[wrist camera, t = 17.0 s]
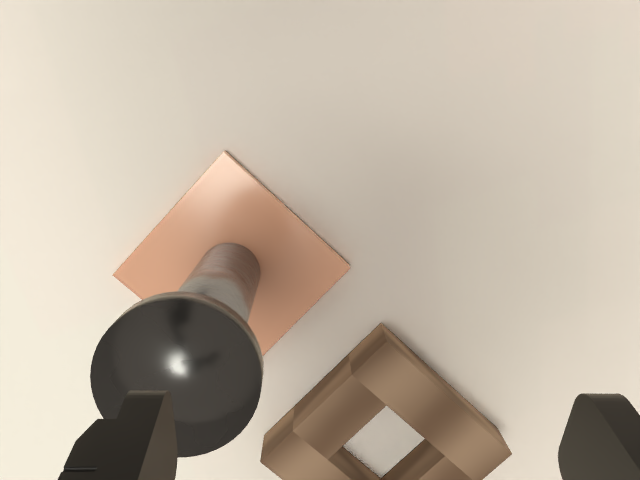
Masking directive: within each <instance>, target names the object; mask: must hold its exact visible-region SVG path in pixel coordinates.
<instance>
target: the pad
mask: <svg viewBox="0 0 640 480" xmlns="http://www.w3.org/2000/svg"><path fill="white" fill-rule="evenodd" d="M222 243H236V244H240V245H242V246H244V247H246V248H247V249H249V250H250V251H251V252H252V253H253V254H254V255H255V257H256V258H257V260H258V263H259V266H260V280H259V284H258V287H257V291H256V295H255V298H254V302H253V306H252V309H251V313H250V316H249V320H248V325H249V326H250V328H251V329H252V331H253V332H254V334H255V336H256V338H257V340H258V343H259V345H260V349H261V352H262V356H263V355H264V354H265V353H266V352H267V351H268V350H269V349H270V348H271V347H272V346H273V345H274V344H275V343H276V342H277V341H278V340H279V339H280V338H281V337H282V336H283V335H284V334H285V333H286V332H287V331H288V330H289V329H290V328H291V327H292V326H293V325H294V324H295V323H296V322H297V321H298V320H299V319H300V318H301V317H302V316H303V315H304V314H305V313H306V312H307V311H308V310H309V309H310V308H311V307H312V306H313V305H314V304H315V303H316V302H317V301H318V300H319V299H320V298H321V297H322V296H323V295H324V294H325V293H326V292H327V291H328V290H329V289H330V288H331V287H332V286H333V285H334V284H335V283H336V282H337V281H338V280H339V279H340V278H341V277H342V276H343V275H344V274H345V273H346V272H347V271H348V270H349V269H350V265H349V264H348V263H347V262H346V261H345V260H344V259H343V258H342V257H341V256H340V255H338V254H337V253H336V252H335V251H334V250H333V249H332V248H331V247H330V246H329V245H328V244H326V243H325V242H324V241H323V240H322V239H321V238H320V237H319V236H318V235H317V234H316V233H314V232H313V231H312V230H311V229H310V228H309V227H308V226H307V225H306V224H305V223H304V222H303V221H301V220H300V219H299V218H298V217H297V216H296V215H295V214H294V213H293V212H292V211H291V210H289V209H288V208H287V207H286V206H285V205H284V204H283V203H282V202H281V201H280V200H279V199H278V198H276V197H275V196H274V195H273V194H272V193H271V192H270V191H269V190H268V189H267V188H266V187H264V186H263V185H262V184H261V183H260V182H259V181H258V180H257V179H256V178H255V177H254V176H252V175H251V174H250V173H249V172H248V171H247V170H246V169H245V168H244V167H243V166H242V165H241V164H239V163H238V162H237V161H236V160H235V159H234V158H233V157H232V156H231V155H230V154H229V153H227V152H226V151H224V152H223V153H222V154H221V155H220V156H219V157H218V158H217V159H216V160H215V161H214V163H213V164H212V165H211V166H210V167H209V168H208V169H207V170H206V171H205V173H204V174H203V175H202V176H201V177H200V178H199V179H198V180H197V182H196V183H195V184H194V185H193V186H192V187H191V188H190V189H189V190H188V192H187V193H186V194H185V195H184V196H183V197H182V198H181V199H180V200H179V202H178V203H177V204H176V205H175V206H174V207H173V208H172V209H171V210H170V212H169V213H168V214H167V215H166V216H165V217H164V218H163V219H162V220H161V222H160V223H159V224H158V225H157V226H156V227H155V228H154V229H153V230H152V232H151V233H150V234H149V235H148V236H147V237H146V238H145V239H144V240H143V242H142V243H141V244H140V245H139V246H138V247H137V248H136V249H135V251H134V252H133V253H132V254H131V255H130V256H129V257H128V258H127V259H126V261H125V262H124V263H123V264H122V265H121V266H120V267H119V268H118V269H117V271H116V272H115V273H114V274H113V276H114V277H115V278H117V279H118V280H119V281H120V282H121V283H123V284H124V285H125V286H126V287H127V288H129V289H130V290H131V291H132V292H134V293H135V294H136V295H137V296H138V297H140V298H141V299H142V300H143V299H145V298H148V297H150V296H153V295H157V294H161V293H165V292H174V291H178V290H179V288H180V287H181V286H182V284H183V283H184V282H185V280H186V279H187V278H188V276H189V275H190V273H191V272H192V271H193V269H194V268H195V267H196V265H197V264H198V263H199V261H200V260H201V259H202V257H203V256H204V255H205V253H206V252H207V251H208V250H209V249H211V248H212V247H214V246H216V245H218V244H222Z"/></svg>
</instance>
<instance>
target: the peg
mask: <svg viewBox="0 0 640 480" xmlns="http://www.w3.org/2000/svg"><path fill="white" fill-rule="evenodd" d="M259 280H260V266H259V263H258V260H257V258H256V257H255V255H254V254H253V253H252V252H251V251H250V250H249V249H247V248H246V247H244V246H242V245H240V244H236V243H222V244H218V245H216V246H214V247H212V248H211V249H209V250H208V251H207V252H206V253H205V255H204V256H203V257H202V259H201V260H200V261H199V263H198V264H197V265H196V267H195V268H194V269H193V271H192V272H191V273H190V275H189V276H188V278H187V279H186V280H185V282H184V283H183V284H182V286H181V287H180V288H179V290H178V291H174V292H165V293H161V294H157V295H153V296H150V297H148V298H145V299H143V300H141V301H140V302H138V303H136V304H134V305H133V306H132V307H130V308H129V309H128V310H126V311H125V312H124V313H123V314H122V315H121V316H120V317H119V318H118V319H117V320H116V321H115V322H114V323H113V325H112V326H111V327H110V328H109V329H108V330H107V331H106V333H105V334H104V335H103V337H102V338H101V340H100V342H99V344H98V345H97V348H96V350H95V353H94V355H93V360H92V364H91V374H90V378H91V388H92V393H93V397H94V400H95V403H96V405H97V408H98V409H99V411H100V413H101V415H102V417H103V418H104V419H116V418H117V416H118V413H119V411H120V408H121V406H122V404H123V401H124V399H125V396H126V394H127V393H128V392H129V391H169V392H170V393H171V398H172V406H173V414H174V423H175V431H176V440H177V457H191V456H197V455H202V454H206V453H208V452H211V451H214V450H216V449H218V448H220V447H222V446H224V445H226V444H227V443H229V442H230V441H231V440H233V439H234V438H235V437H236V436H237V435H239V434H240V433H241V432H242V430H243V429H244V428H245V427H246V426H247V424H248V423H249V421H250V420H251V418H252V417H253V415H254V412H255V410H256V408H257V405H258V402H259V398H260V392H261V386H262V379H263V357H262V352H261V349H260V345H259V343H258V340H257V338H256V336H255V334H254V332H253V331H252V329H251V328H250V326H249V325H248V320H249V316H250V313H251V309H252V306H253V302H254V298H255V295H256V291H257V287H258V284H259Z"/></svg>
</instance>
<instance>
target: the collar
mask: <svg viewBox="0 0 640 480" xmlns="http://www.w3.org/2000/svg"><path fill="white" fill-rule="evenodd" d="M386 405H387V406H388V407H389V408H390V409H392V410H393V411H394V412H395V413H396V414H397V415H398V416H400V417H401V418H402V419H403V420H404V421H405V422H407V423H408V424H409V425H410V426H411V427H412V428H413V429H415V430H416V431H417V432H418V433H419V434H420V435H421V436H423V437H424V438H425V440H424V441H423V442H421V443H420V444H419V445H418V446H417V447H416V448H415V449H414V450H412V451H411V452H410V453H409V454H408V455H407V456H406V457H405V458H404V459H402V460H401V461H400V462H399V463H398V464H397V465H396V466H395V467H393V468H392V469H391V470H390V471H389V472H388V473H387V474H386V475H385V476H383V477H382V478H381V479H380V478H379V477H378V476H377V475H376V474H374V473H373V472H372V471H371V470H370V469H368V468H367V467H366V466H365V465H364V464H362V463H361V462H360V461H359V460H358V459H356V458H355V457H354V456H353V455H352V454H350V453H349V452H348V451H347V450H346V449H344V448H343V447H342V446H343V445H344V444H345V443H346V442H347V441H348V440H350V439H351V438H352V437H353V436H354V435H355V434H356V433H357V432H358V431H359V430H360V429H361V428H363V427H364V426H365V425H366V424H367V423H368V422H369V421H370V420H371V419H372V418H373V417H374V416H375V415H377V414H378V413H379V412H380V411H381V410H382V409H383V408H384V407H385V406H386ZM510 455H512V453H511V451H510V449H509V448H508V446H507V444H506V442H505V441H504V439H503V437H502V435H501V434H500V432H499V430H498V429H497V427H495V426H494V425H493V424H492V423H491V422H490V421H489V420H488V419H487V418H486V417H484V416H483V415H482V414H481V413H480V412H479V411H478V410H477V409H476V408H474V407H473V406H472V405H471V404H470V403H469V402H468V401H467V400H466V399H465V398H463V397H462V396H461V395H460V394H459V393H458V392H457V391H456V390H455V389H454V388H452V387H451V386H450V385H449V384H448V383H447V382H446V381H445V380H444V379H442V378H441V377H440V376H439V375H438V374H437V373H436V372H435V371H434V370H433V369H431V368H430V367H429V366H428V365H427V364H426V363H425V362H424V361H423V360H421V359H420V358H419V357H418V356H417V355H416V354H415V353H414V352H413V351H412V350H410V349H409V348H408V347H407V346H406V345H405V344H404V343H403V342H402V341H401V340H399V339H398V338H397V337H396V336H395V335H394V334H393V333H392V332H391V331H389V330H388V329H387V328H386V327H385V326H384V325H383V324H382V323H380V324H379V325H378V326H377V327H376V328H375V329H374V330H373V331H372V332H371V333H370V334H369V335H368V336H367V337H366V338H365V339H364V340H363V341H362V342H361V343H360V344H359V345H358V346H357V347H356V348H354V349H353V350H352V351H351V352H350V353H349V354H348V355H347V356H346V357H345V358H344V359H343V360H342V361H341V362H340V363H339V364H338V365H337V366H336V367H335V368H334V369H333V370H332V371H331V372H330V373H328V374H327V375H326V376H325V377H324V378H323V379H322V380H321V381H320V382H319V383H318V384H317V385H316V386H315V387H314V388H313V389H312V390H311V391H310V392H309V393H308V394H307V395H306V396H305V397H304V398H303V399H301V400H300V401H299V402H298V403H297V404H296V405H295V406H294V407H293V408H292V409H291V410H290V411H289V412H288V413H287V414H286V415H285V416H284V417H283V418H282V419H281V420H280V421H279V422H278V423H277V424H275V425H274V426H273V427H272V428H271V429H270V430H269V431H268V432H267V433H266V434H265V435H264V440H263V447H262V454H261V460H260V462H261V463H262V464H264V465H265V466H266V467H267V468H269V469H270V470H271V471H272V472H274V473H275V474H276V475H277V476H279V477H280V478H281V479H282V480H482V479H484V478H485V477H486V476H487V475H488V474H489V473H491V472H492V471H493V470H494V469H495V468H496V467H498V466H499V465H500V464H501V463H502V462H503V461H505V460H506V459H507V458H508V457H509V456H510Z"/></svg>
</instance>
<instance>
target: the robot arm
mask: <svg viewBox="0 0 640 480" xmlns="http://www.w3.org/2000/svg"><path fill="white" fill-rule="evenodd" d="M558 462H559V468H560V472H561V476H562V479H563V480H640V415H639V414H638V412H637V411H636V410H635V408H634V407H633V406H632V404H631V403H630V402H629V401H628V399H627V398H626V397H624V396H623V395H621V394H580V395H578V396H577V398H576V399H575V401H574V404H573V407H572V410H571V413H570V416H569V419H568V422H567V425H566V428H565V431H564V434H563V437H562V440H561V443H560V446H559V452H558ZM176 468H177V440H176V431H175V423H174V414H173V406H172V398H171V393H170V392H169V391H129V392H128V393H127V394H126V396H125V399H124V401H123V404H122V406H121V408H120V411H119V413H118V416H117V418H116V419H97V420H96V421H95V422H94V423H93V424H92V425H91V426H90V427H89V428H88V429H87V430H86V431H85V432H84V433H83V434H82V435H81V436H80V437H79V438H78V439H77V440H76V442H75V444H74V446H73V448H72V450H71V452H70V455H69V457H68V459H67V461H66V463H65V465H64V471H63V472H61V474H60V476H59V478H58V480H175V476H176Z"/></svg>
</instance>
